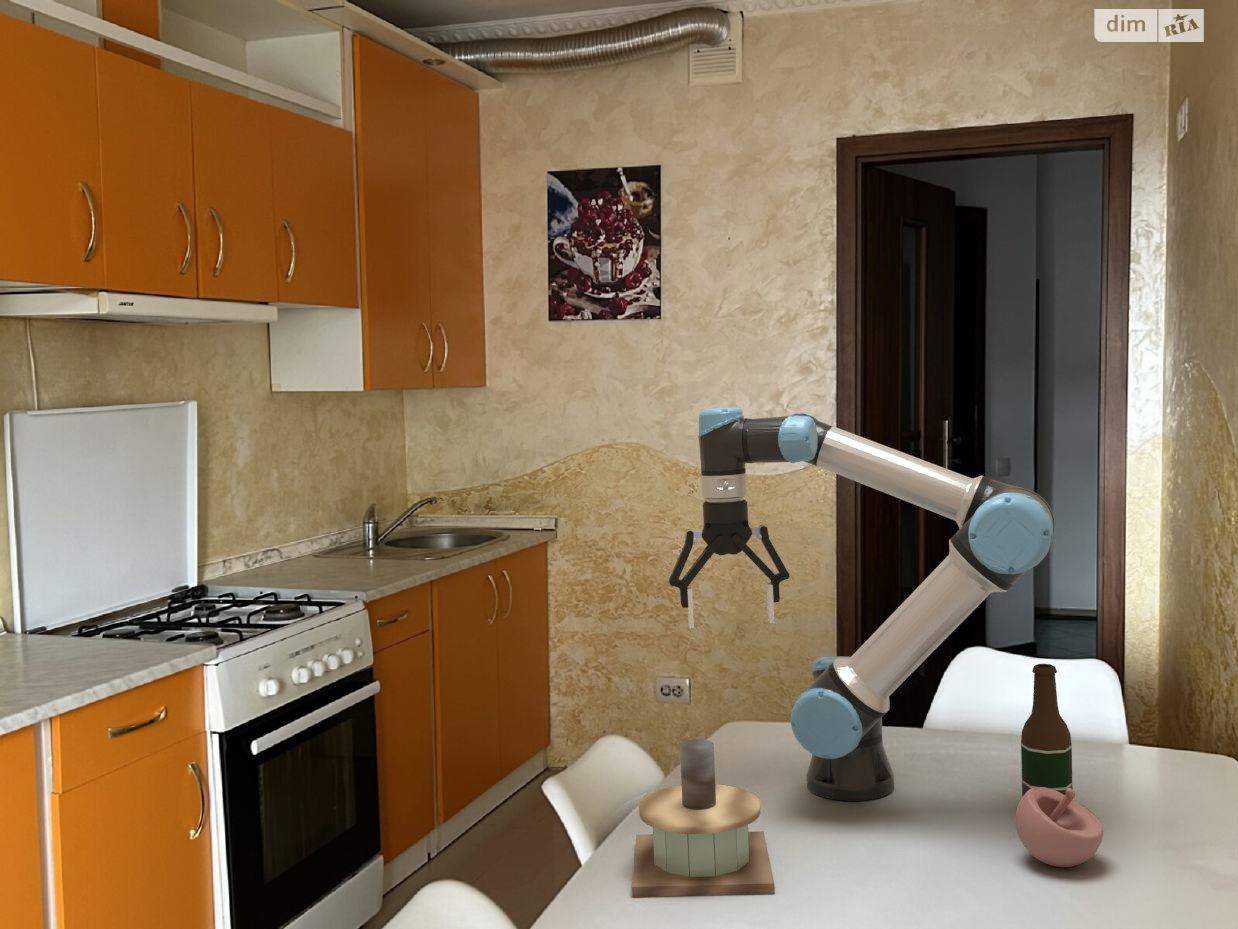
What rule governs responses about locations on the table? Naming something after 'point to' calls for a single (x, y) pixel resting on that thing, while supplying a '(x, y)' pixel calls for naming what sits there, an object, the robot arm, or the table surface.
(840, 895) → the table surface
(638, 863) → the serving board
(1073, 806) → the mortar and pestle
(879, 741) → the robot arm
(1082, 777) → the table surface
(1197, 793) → the table surface
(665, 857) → the bowl
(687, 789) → the lid
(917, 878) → the table surface
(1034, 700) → the beer bottle
